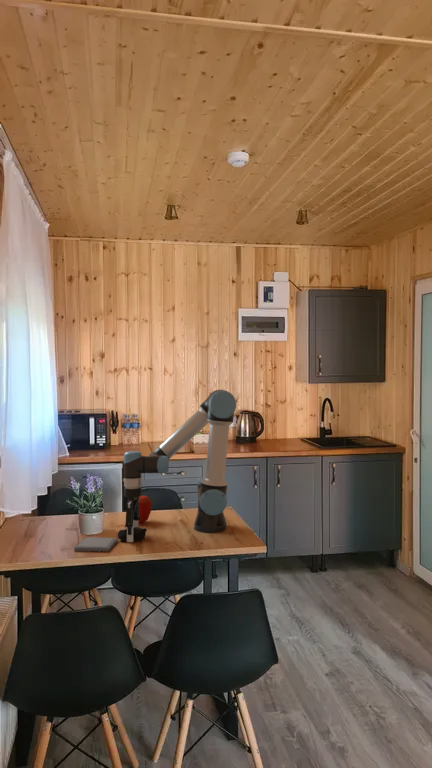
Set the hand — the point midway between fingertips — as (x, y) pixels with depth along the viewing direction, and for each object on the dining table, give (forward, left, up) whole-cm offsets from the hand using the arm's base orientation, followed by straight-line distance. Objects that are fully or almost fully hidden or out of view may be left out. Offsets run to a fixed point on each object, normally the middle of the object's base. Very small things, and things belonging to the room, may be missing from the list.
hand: (132, 538), depth 244 cm
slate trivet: (+13, +11, 0) cm, 17 cm away
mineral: (0, 0, -1) cm, 1 cm away
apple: (+3, -25, 0) cm, 25 cm away
